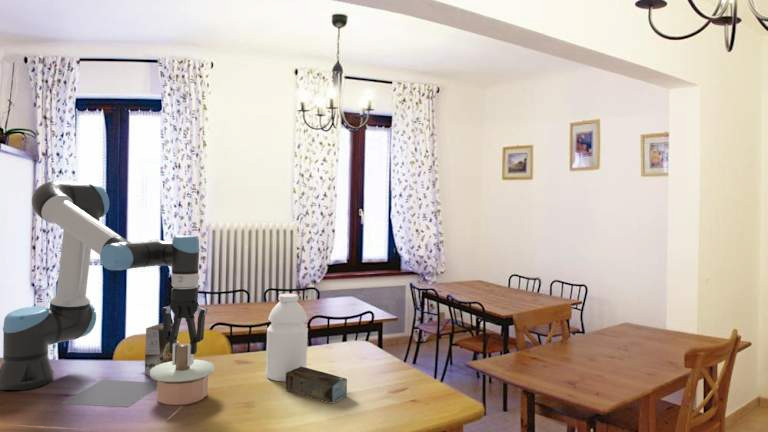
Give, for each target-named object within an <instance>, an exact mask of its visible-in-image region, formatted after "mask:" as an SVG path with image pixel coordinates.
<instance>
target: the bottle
mask: <svg viewBox="0 0 768 432" xmlns="http://www.w3.org/2000/svg"><path fill="white" fill-rule="evenodd" d="M298 301H299V295H298V294H296V293H281V294H279V295H278V303H276V304H275V305H274V307H272V309H271V311H270V313H269V316H268V321H269V322H270V325H269V326H268V327H267V328H266V354H265V355H266V356H265V357H266V359H265V361H266V362H265V363H266V364H265V365H266V367H265V376H266V377H267V378H268V379H269V380H272V381H275V382H286V373H287V372H289V371H292V370H294V369H297V368H299V367H305V368H307V363H308V362H307V360H308V359H307V358H308V335H309V334H308V332H309V328H308V326H307V325H306V324H305V322H306V321H307V320H308V316H307V313H306V310H305V309H304V307H303V306H302V305H301V304H300V303H299V302H298Z"/></svg>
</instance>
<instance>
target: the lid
mask: <svg viewBox="0 0 768 432" xmlns="http://www.w3.org/2000/svg"><path fill="white" fill-rule="evenodd" d="M188 344H189V343H179V344H178V345H177V346H176V365H172V361H170V362H166V363H162V364H159V365H157V366H155V367H153V368H152V369H151V370H150V375H149V376H150V378H151V379H152V380H155V381H157V380H158V381H163V382H184V381H192V380H196V379H200V378H204V377H206V376H208V377H209V376H210V375H211V374H213V373H214V371H215V365H214V363H212V362H210V361H209V360H208V361H207V360H204V359H203V360H202V359H194V363H193V364H192V365H190V366H187V357H188Z"/></svg>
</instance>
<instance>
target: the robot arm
mask: <svg viewBox="0 0 768 432" xmlns="http://www.w3.org/2000/svg"><path fill="white" fill-rule="evenodd" d="M31 206H32V209H33V211H34V213H35V214H36V215H37V216H39V218H41V219H42V220H44V221H45V222H46V223H48V224H55V225H56V226H58V227H60V228H61V229H63V231H62V232H63V233H62V239H61V249H60V250H61V251H60V258H59V259H60V260H59V265H58V266H59V267H58V275H57V286H56V295H55V296H54V297H53V298H51V299H50V302H49V307H47V306H45V305H34V306H26V307H21V308H18V309H15V310H13V311H10V312H9V313H7V314H6V315H5V317H4V318H3V319H4V320H3V327H2V331H3V339H2V340H3V346H2V347H3V348H2V349H3V351H2V354H3V356H2V357H3V358H2V362H1V363H2V364H1V366H0V389H1V390H0V391H2V390H20V391H26V390H25V389H28V390H32V388H33V389H37V388H41V387H43V386H46V385H48V384H50V383H52V382H53V381H54V380H55V379H54V378H55V371H54V369H53V367H52V364H51V361H50V358H49V346H50V345H55V344H59V343H62V342H68V341H73V340H77V339H79V338H83V337H86V336H87V335H88V334H90V333H91V332H92V330H93V329H94V327H95V325H96V322H97V312H96V310H95V307H94V306H93V304H91V300H90V299H89V298H88V297H87V296H86V295H87V288H88V278H89V269H90V261H91V260H90V259H91V251H92V250H93V251H94V252H95V253H96V254H98V255H99V258H100V262H101V263H102V266H103V267H104V268H105V269H106V270H108V271H124V270H130V269H137V268H147V267H155V266H168V267H171V286H172V288H171V289H170V290H171V291H170V293H171V295H170V299H171V302H170V304H169V305H168V306H164V307H162V308H161V309H160V310H161V311H160V312H161V314H162V323H163V339H164V340H165V341H169V342H170V353H173V354H172V365H176V346H177V345H178V344H180V341H179V340H178V336H179V332H180V327H181V322H182V319H185V322H186V324H187V331H188V336H189V343H187V344H188V357H187V366H190V365H192V364H193V363H194V360H195V358H194V356H195V354H197V350H198V343H200V342H202V341H203V340H204V338H205V337H204V336H205V323H206V322H205V321H206V315H207V312H208V308H206V307H205V308H204V307H201V306H200V305H199V303H198V302H199V301H198V300H199V288H198V285H199V263H200V262H199V260H200V240H199V239H200V238H199V237H197V235H187V234H186V235H175V236H173V237H172V241H170V240H169V241H168V240H159V239H148V240H145V241H132V242H131V241H129V240H128V239H126V238H124V237H123V236H121V235H120V234H118V233H116V232H115V231H114V230H113V229H111V228H109V227H108V226H107V225H105V224H104V223H102V222H101V221H100V218H103V217H104V216H105V215H106V214H107V213H108V211H109V208H110V198H109V196H108V193H107V192H106V190H105V189H104V188H103V187H102V186H101V185H100V184H98V183H92V182H87V181H85V182H83V181H64V180H63V181H62V180H51V181H48V182H45V183H42V184H41V185H39V186H38V187H37V188H36V190H34V192H33V193H32V197H31ZM171 312H172V313H173V321H172V314H171ZM196 312H197V315H198V317H197V322H195V314H196ZM172 322H173V323H172ZM196 323H197V325H196ZM171 324H173V326H172V331H171ZM196 326H197V327H196ZM176 340H177V341H176Z"/></svg>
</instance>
